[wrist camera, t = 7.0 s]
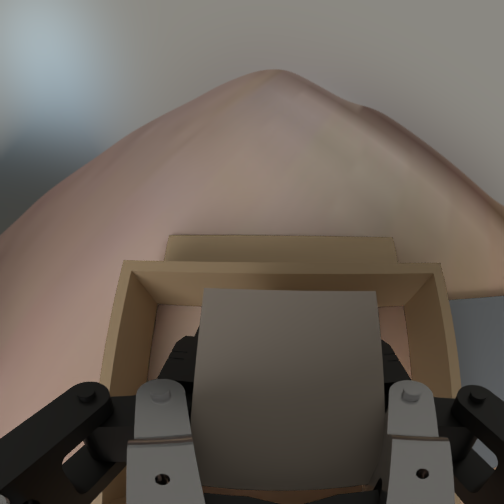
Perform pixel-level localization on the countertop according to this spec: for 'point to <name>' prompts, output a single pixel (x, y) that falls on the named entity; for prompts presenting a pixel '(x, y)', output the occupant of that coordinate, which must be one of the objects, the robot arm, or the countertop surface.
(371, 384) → the tea box
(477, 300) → the slate mat
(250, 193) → the countertop surface
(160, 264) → the carton
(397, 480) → the robot arm
